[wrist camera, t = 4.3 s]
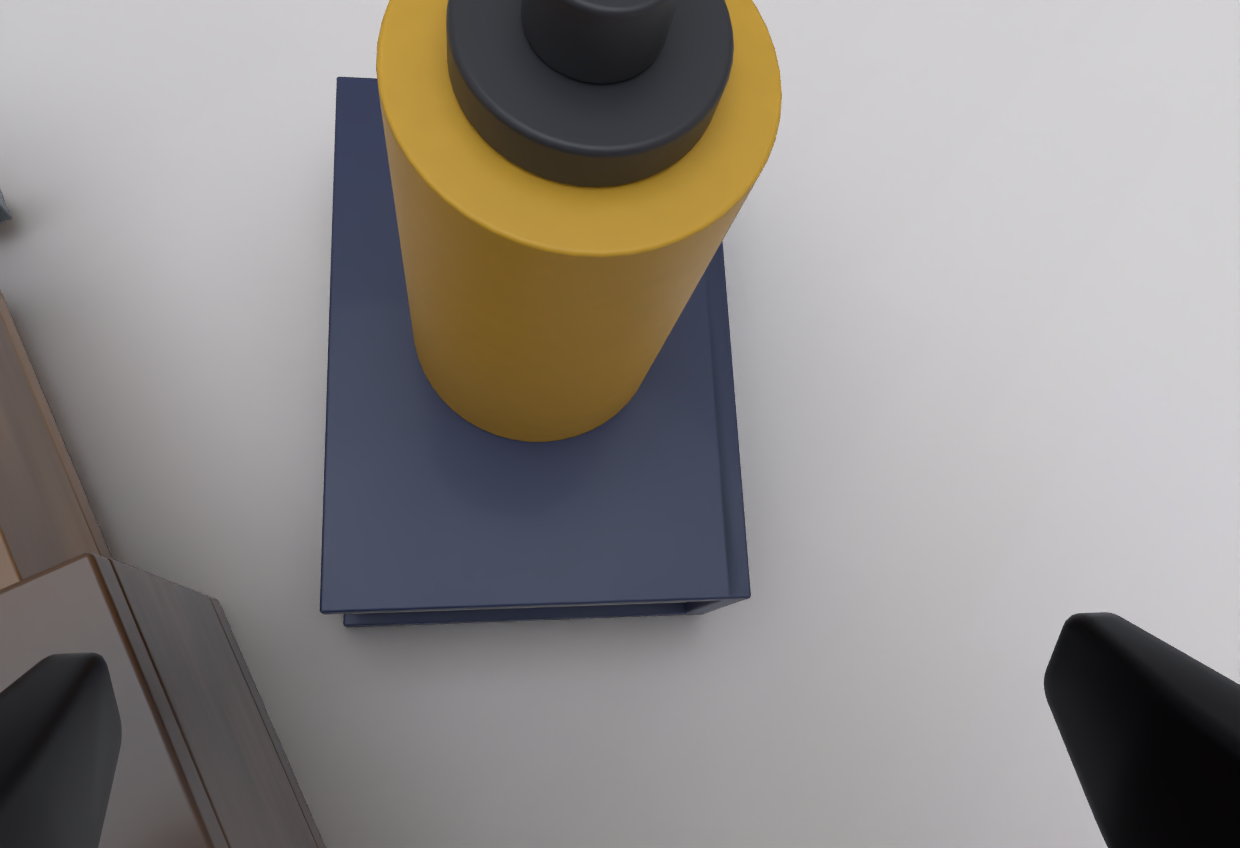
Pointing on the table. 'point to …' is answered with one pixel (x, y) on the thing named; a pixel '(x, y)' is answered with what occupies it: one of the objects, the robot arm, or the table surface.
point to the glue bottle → (564, 188)
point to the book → (511, 456)
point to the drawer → (35, 471)
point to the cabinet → (164, 707)
